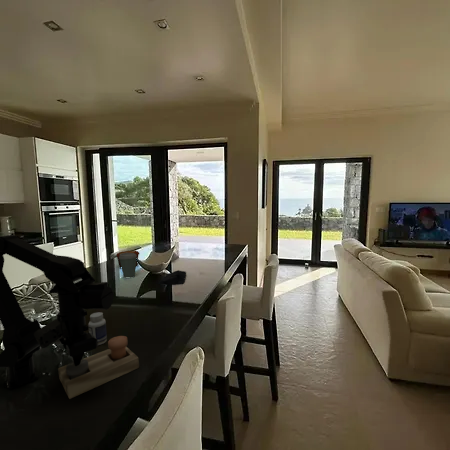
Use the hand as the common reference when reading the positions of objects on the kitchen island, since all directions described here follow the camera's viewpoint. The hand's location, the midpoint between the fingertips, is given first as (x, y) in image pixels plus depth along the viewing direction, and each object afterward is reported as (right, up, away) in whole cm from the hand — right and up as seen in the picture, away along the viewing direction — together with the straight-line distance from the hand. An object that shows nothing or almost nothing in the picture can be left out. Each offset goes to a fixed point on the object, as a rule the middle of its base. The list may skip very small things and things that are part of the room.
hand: (77, 364), depth 74 cm
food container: (-31, +6, +129) cm, 133 cm away
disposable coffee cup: (-21, +4, +101) cm, 104 cm away
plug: (0, -5, 0) cm, 5 cm away
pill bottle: (-4, -3, +22) cm, 22 cm away
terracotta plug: (+8, -1, +8) cm, 11 cm away
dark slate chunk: (+9, +4, +93) cm, 94 cm away
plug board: (+4, -4, +4) cm, 7 cm away
